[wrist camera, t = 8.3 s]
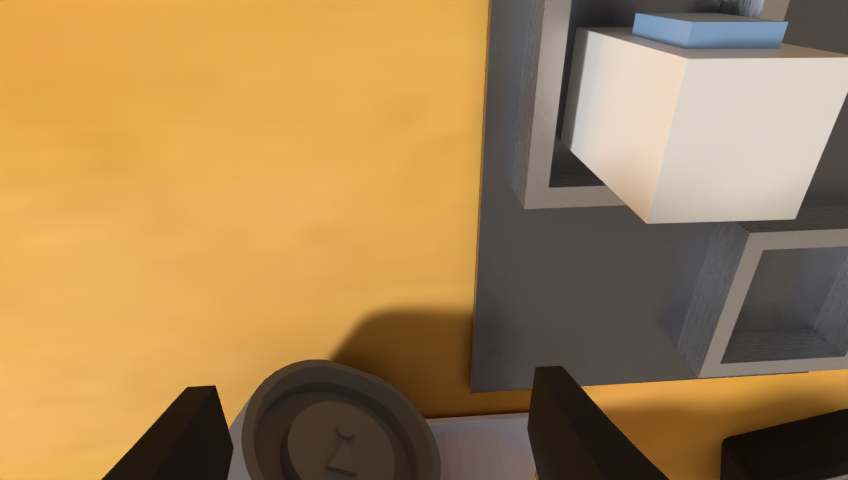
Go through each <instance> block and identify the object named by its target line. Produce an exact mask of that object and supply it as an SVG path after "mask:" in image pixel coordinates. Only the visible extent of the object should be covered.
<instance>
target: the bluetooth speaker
mask: <svg viewBox="0 0 848 480" xmlns="http://www.w3.org/2000/svg"><path fill="white" fill-rule="evenodd" d="M229 433H230V436H231V440H232V443H233V447H234V449H233V454H232V459H231V464H230V469H229V474H228V479H227V480H440V478H441V459H440V455H439V450H438V447H437V443H436V440H435V438H434V436H433V433H432V431H431V429H430V427H429V425H428V424H427V422H426V420H425V419H424V417H423V416H422V414H421V413H420V411H419V410H418V409H417V407H416V406H415V405H414V404H413V403H412V402H411V401H410V399H409V398H408V397H407V396H406V395H405V394H403V393H402V392H401V391H400V390H399V389H398V388H397V387H395V386H394V385H392V384H391V383H389V382H388V381H387V380H385V379H382V378H380V377H378V376H375V375H373V374H370V373H367V372H365V371H362V370H359V369H356V368H354V367H350V366H347V365H344V364H340V363H336V362H333V361H328V360H305V361H300V362H296V363H293V364H290V365H288V366H285V367H283V368H281V369H280V370H278V371H276V372H274V373H273V374H272V375H270V376H269V377H268V378H267V379H265V380H264V382H263V383H262V384H261V385H260V386H259V387H258V388H257V390H256V391H255V392H254V394H253V395H252V396H251V398H250V399H249V400H248V402H247V403H246V404H245V406H244V407H243V409H242V410H241V412H240V413H239V414H238V416H237V417H236V419H235V420H234V422H233V424H232V425H231V427H230V428H229Z"/></svg>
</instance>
